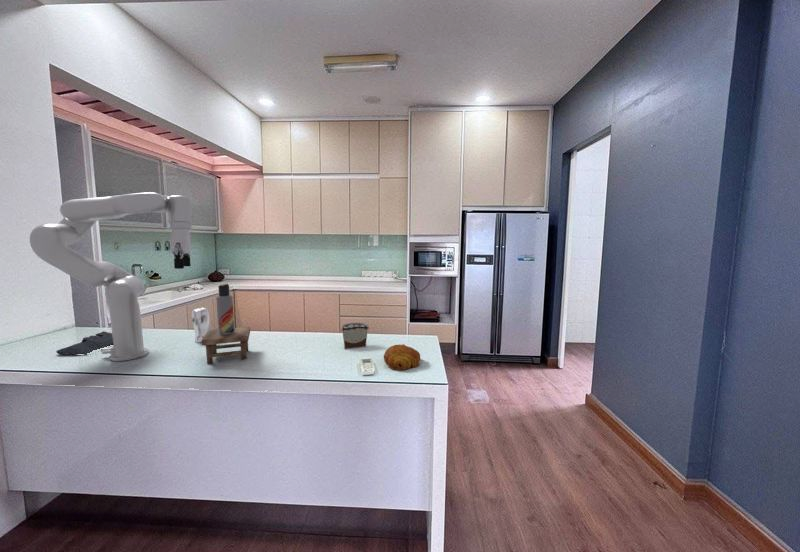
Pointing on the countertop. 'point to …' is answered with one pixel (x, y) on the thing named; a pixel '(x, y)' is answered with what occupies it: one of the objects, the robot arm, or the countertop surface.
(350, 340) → the food container
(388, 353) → the croissant
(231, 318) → the lotion bottle
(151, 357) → the countertop surface
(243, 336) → the walnut stool
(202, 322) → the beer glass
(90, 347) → the dark slate chunk
